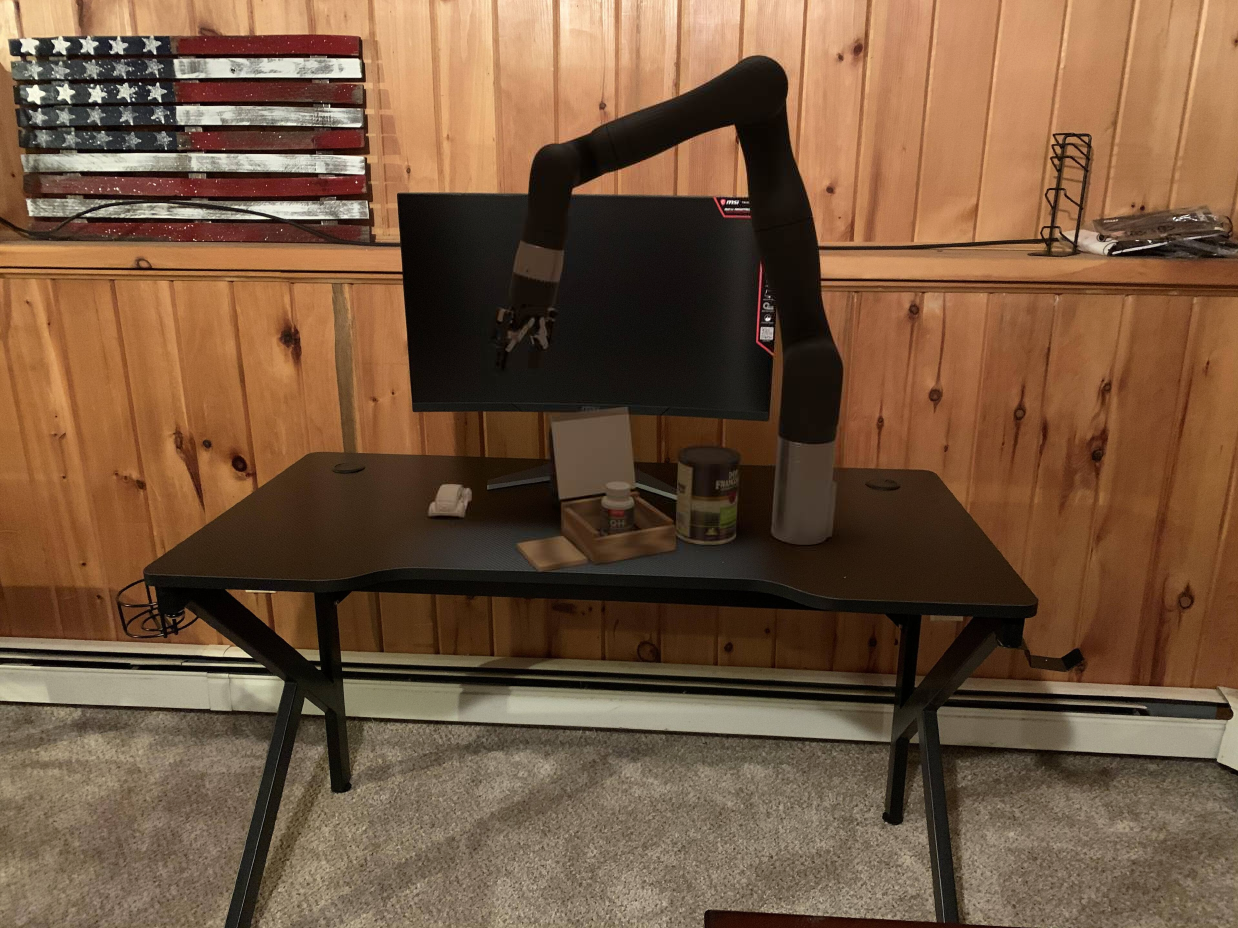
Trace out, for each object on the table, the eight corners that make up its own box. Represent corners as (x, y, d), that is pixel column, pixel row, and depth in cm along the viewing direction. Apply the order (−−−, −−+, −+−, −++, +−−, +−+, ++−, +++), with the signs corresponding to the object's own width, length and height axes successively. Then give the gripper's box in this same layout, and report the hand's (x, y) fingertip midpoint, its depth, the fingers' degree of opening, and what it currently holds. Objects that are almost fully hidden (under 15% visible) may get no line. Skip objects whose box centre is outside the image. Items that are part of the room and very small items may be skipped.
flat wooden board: (562, 540, 151) (562, 535, 151) (587, 563, 142) (587, 558, 142) (516, 548, 148) (516, 543, 147) (539, 572, 139) (539, 567, 139)
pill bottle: (611, 550, 147) (612, 492, 144) (594, 539, 152) (595, 482, 149) (639, 543, 150) (641, 487, 147) (622, 532, 154) (623, 477, 151)
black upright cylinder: (540, 507, 166) (539, 426, 161) (564, 493, 172) (563, 416, 168) (579, 515, 162) (579, 433, 157) (602, 501, 169) (602, 422, 164)
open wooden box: (636, 520, 160) (636, 491, 158) (675, 549, 148) (676, 518, 146) (561, 532, 154) (561, 502, 152) (596, 564, 142) (596, 531, 140)
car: (462, 521, 159) (461, 496, 158) (426, 520, 159) (425, 495, 158) (475, 498, 170) (474, 474, 169) (442, 497, 171) (441, 473, 169)
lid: (635, 488, 158) (633, 487, 159) (627, 406, 157) (625, 407, 158) (560, 499, 152) (558, 498, 153) (551, 415, 151) (549, 415, 152)
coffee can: (748, 533, 155) (753, 453, 151) (712, 550, 148) (717, 467, 143) (698, 517, 162) (702, 440, 157) (662, 534, 154) (664, 453, 150)
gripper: (526, 279, 139) (506, 381, 144) (581, 280, 151) (560, 374, 156) (489, 266, 143) (471, 366, 148) (545, 268, 154) (526, 360, 160)
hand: (517, 370), depth 152 cm, fingers open, 8 cm apart
